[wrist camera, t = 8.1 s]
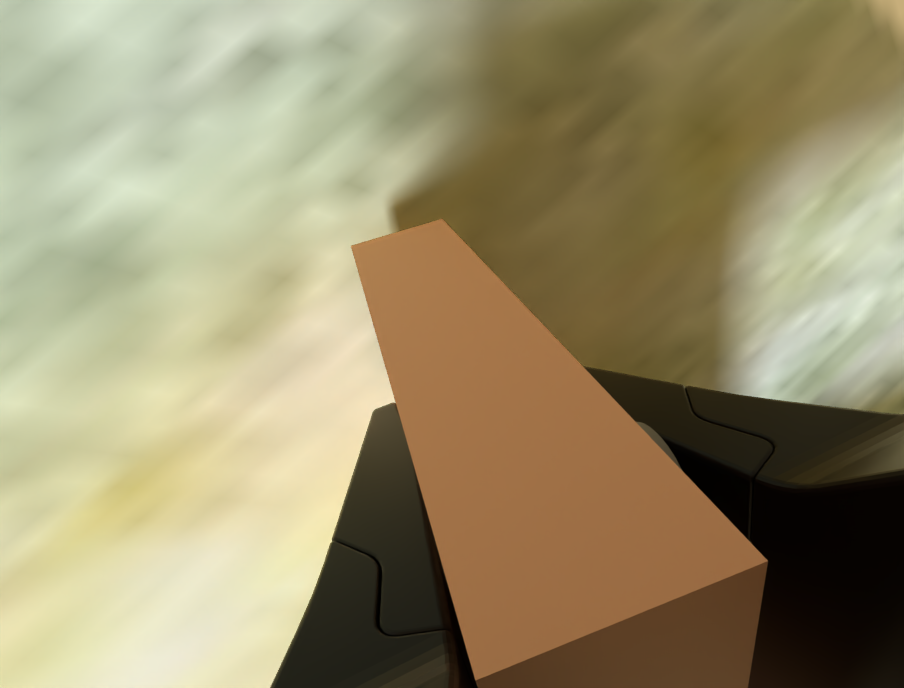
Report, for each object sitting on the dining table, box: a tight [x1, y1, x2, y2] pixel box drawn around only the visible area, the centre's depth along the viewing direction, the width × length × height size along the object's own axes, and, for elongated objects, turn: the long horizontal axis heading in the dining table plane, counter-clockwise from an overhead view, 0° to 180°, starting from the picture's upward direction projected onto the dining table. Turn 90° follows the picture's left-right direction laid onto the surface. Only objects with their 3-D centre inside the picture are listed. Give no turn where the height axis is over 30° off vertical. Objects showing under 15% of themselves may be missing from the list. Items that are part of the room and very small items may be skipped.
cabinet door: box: [351, 219, 768, 688], centre depth 9 cm, size 12×2×8 cm, turn 14°
